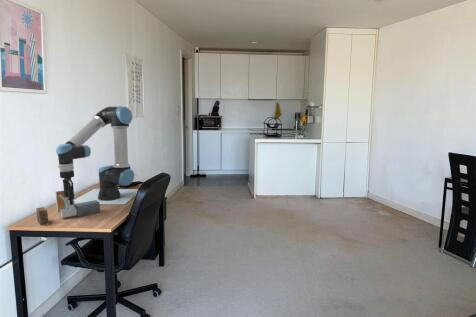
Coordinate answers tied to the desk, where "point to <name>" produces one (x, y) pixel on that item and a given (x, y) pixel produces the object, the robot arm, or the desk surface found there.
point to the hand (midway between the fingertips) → (70, 208)
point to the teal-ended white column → (66, 211)
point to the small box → (60, 199)
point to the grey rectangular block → (88, 208)
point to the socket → (42, 215)
